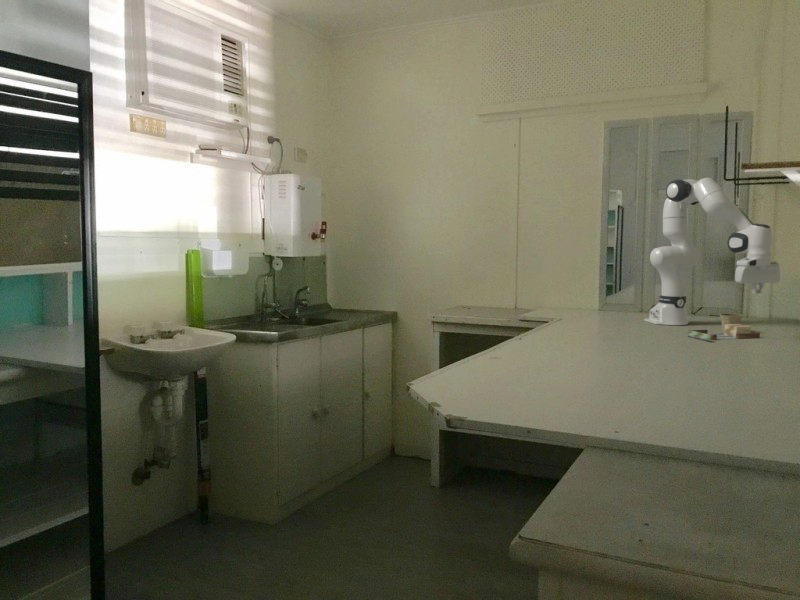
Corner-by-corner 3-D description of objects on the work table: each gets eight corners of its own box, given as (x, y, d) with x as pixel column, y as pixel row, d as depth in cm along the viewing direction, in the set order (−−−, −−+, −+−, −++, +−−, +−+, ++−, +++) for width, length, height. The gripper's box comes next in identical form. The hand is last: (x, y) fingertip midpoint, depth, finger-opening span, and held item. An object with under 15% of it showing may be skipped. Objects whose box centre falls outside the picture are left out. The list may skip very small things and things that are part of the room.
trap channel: (687, 337, 271) (688, 330, 271) (734, 335, 276) (735, 328, 276) (710, 342, 258) (710, 335, 257) (759, 340, 263) (759, 333, 262)
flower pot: (746, 335, 276) (747, 316, 275) (724, 335, 276) (725, 316, 275) (735, 332, 285) (736, 313, 284) (714, 332, 285) (715, 313, 284)
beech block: (724, 334, 271) (724, 324, 271) (738, 334, 273) (738, 323, 272) (736, 337, 264) (736, 326, 264) (750, 336, 266) (750, 326, 265)
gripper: (773, 260, 272) (771, 292, 274) (733, 261, 268) (731, 293, 269) (785, 261, 266) (783, 293, 268) (744, 262, 262) (742, 294, 263)
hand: (757, 293), depth 269 cm, fingers closed
